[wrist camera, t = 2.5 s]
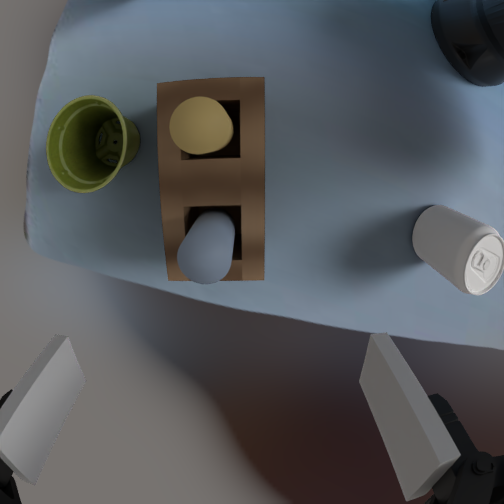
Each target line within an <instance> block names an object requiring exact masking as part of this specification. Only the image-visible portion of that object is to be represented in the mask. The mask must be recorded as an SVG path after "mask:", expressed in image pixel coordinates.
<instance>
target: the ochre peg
mask: <svg viewBox="0 0 504 504" xmlns="http://www.w3.org/2000/svg"><path fill="white" fill-rule="evenodd" d="M169 128H170V134H171V137H172V139H173V141H174V143H175V144H176V145H177V146H178V147H179V148H180V149H182V150H183V151H185V152H187V153H191V154H205V153H209V152H214V151H218V150H221V149H223V148H224V147H226V146H227V145H228V144H229V143H230V141H231V140H232V137H233V134H234V126H233V123H232V121H231V119H230V117H229V116H228V114H227V113H226V111H225V109H224V108H223V107H222V106H221V105H220V104H219V103H218V102H217V101H215V100H213V99H211V98H208V97H193V98H190V99H187V100H185V101H184V102H182V103H181V104H180V105H179V106H178V107H177V108H176V109H175V111H174V112H173V114H172V116H171V119H170V126H169Z"/></svg>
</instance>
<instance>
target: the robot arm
mask: <svg viewBox="0 0 504 504" xmlns="http://www.w3.org/2000/svg"><path fill="white" fill-rule="evenodd" d="M431 21H432V27H433V31H434V34H435V37H436V39H437V42H438V44H439V46H440V48H441V49H442V51H443V53H444V55H445V56H446V58H447V59H448V60H449V62H450V63H451V64H452V66H453V67H454V68H455V69H456V70H457V71H458V72H459V73H460V74H461V75H462V76H463V77H464V78H466V79H467V80H469V81H470V82H472V83H474V84H476V85H479V86H485V87H486V86H496V85H499V84H502V83H503V82H504V0H437V1H436V2H435V3H434V5H433V8H432V12H431ZM85 382H86V379H85V377H84V375H83V373H82V371H81V368H80V365H79V363H78V361H77V358H76V356H75V353H74V351H73V348H72V346H71V343H70V340H69V338H68V336H62V335H55V336H54V337H53V338H52V340H51V341H50V342H49V343H48V345H47V346H46V347H45V348H44V350H43V351H42V352H41V354H40V355H39V356H38V357H37V359H36V360H35V361H34V363H33V364H32V365H31V367H30V368H29V369H28V371H27V372H26V373H25V375H24V376H23V377H22V379H21V380H20V381H19V383H18V384H17V386H16V387H15V388H14V390H10V391H9V392H7V393H6V394H5V395H4V396H3V397H2V398H1V400H0V504H22V503H21V501H20V497H19V493H18V490H17V486H16V483H15V480H14V478H13V477H12V474H13V472H14V473H15V474H16V475H18V477H19V478H20V479H22V480H24V481H26V482H28V483H30V484H32V485H36V482H37V480H38V477H39V475H40V473H41V471H42V468H43V466H44V464H45V461H46V459H47V457H48V455H49V453H50V451H51V449H52V447H53V444H54V442H55V440H56V438H57V436H58V434H59V432H60V430H61V428H62V426H63V424H64V422H65V420H66V418H67V416H68V414H69V412H70V410H71V408H72V406H73V405H74V403H75V401H76V399H77V397H78V395H79V393H80V391H81V389H82V388H83V386H84V384H85ZM359 382H360V384H361V387H362V389H363V392H364V394H365V397H366V399H367V401H368V404H369V406H370V408H371V411H372V413H373V416H374V418H375V421H376V423H377V426H378V428H379V431H380V433H381V436H382V438H383V441H384V443H385V446H386V448H387V451H388V453H389V456H390V459H391V461H392V464H393V467H394V469H395V472H396V474H397V477H398V480H399V483H400V485H401V488H402V491H403V494H404V497H405V499H406V501H409V500H411V499H415V498H417V497H420V496H422V495H425V494H426V493H427V492H428V491H429V490H430V489H431V488H432V489H433V491H434V494H433V495H432V496H431V497H430V498H429V499H428V500H427V501H426V502H425V504H504V455H502V456H496V457H492V456H491V455H490V454H488V453H486V452H479V451H478V450H477V449H476V447H475V446H474V444H473V442H472V441H471V439H470V437H469V436H468V434H467V432H466V431H465V429H464V427H463V426H462V424H461V422H460V421H458V417H457V416H456V414H455V413H453V409H452V408H451V406H450V405H449V403H448V402H447V401H446V400H445V399H444V398H443V397H441V396H440V395H439V394H433V395H430V396H427V395H426V393H425V392H424V390H423V388H422V387H421V385H420V383H419V382H418V380H417V379H416V377H415V375H414V374H413V372H412V371H411V369H410V367H409V366H408V364H407V363H406V361H405V360H404V358H403V357H402V355H401V353H400V352H399V350H398V349H397V347H396V346H395V344H394V343H393V341H392V340H391V338H390V337H389V335H388V334H387V332H386V333H379V334H371V336H370V340H369V344H368V349H367V353H366V357H365V361H364V365H363V369H362V373H361V377H360V380H359Z"/></svg>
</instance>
